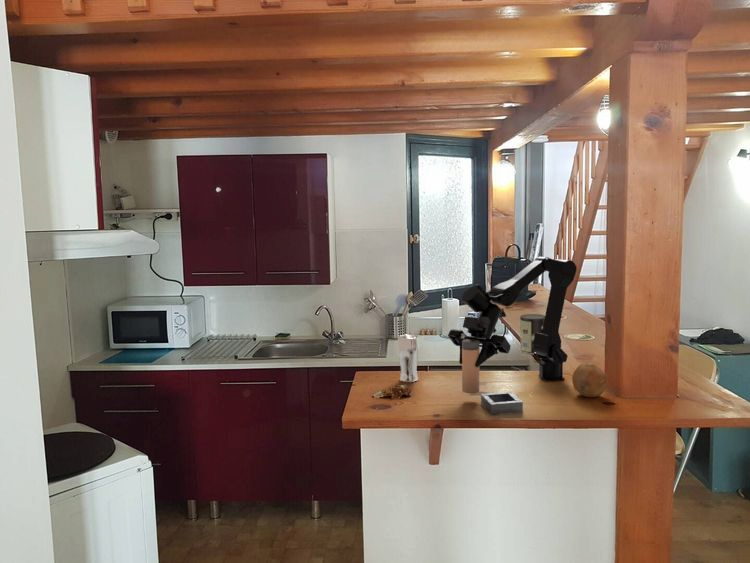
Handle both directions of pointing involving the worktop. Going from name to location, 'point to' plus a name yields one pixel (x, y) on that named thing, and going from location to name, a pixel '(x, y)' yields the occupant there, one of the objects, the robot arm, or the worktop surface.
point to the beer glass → (408, 357)
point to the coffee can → (530, 331)
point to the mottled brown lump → (394, 391)
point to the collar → (501, 403)
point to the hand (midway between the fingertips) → (468, 365)
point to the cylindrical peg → (470, 366)
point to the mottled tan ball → (589, 380)
